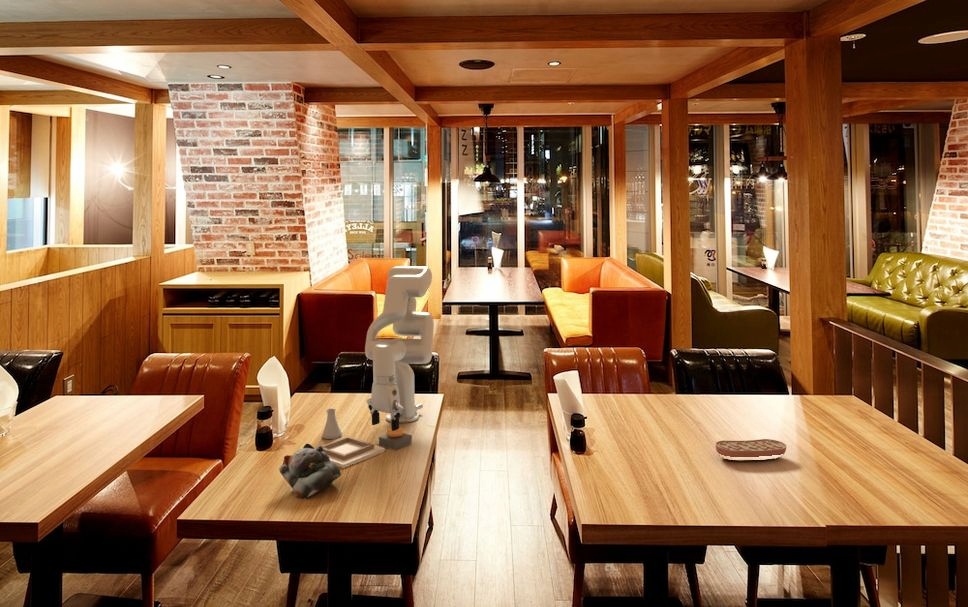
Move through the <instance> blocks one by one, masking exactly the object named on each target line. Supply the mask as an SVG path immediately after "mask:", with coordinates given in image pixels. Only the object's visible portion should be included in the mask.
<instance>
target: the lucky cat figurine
mask: <svg viewBox="0 0 968 607" xmlns="http://www.w3.org/2000/svg"><path fill="white" fill-rule="evenodd" d="M322 446H323V445H320V444H319V445H318V446H316V447H314V446H313V445H311V444H310V443H305V444H304V446H303V447H302V448H299V449H298V450H297V451H296V452H294V453H293V454H292V455H288V454H287V455H284V456H283V462H282V464H281V466H280V467H279V468H278V469H279V472H280V474H281V476H282V477H283V479H284V480H285V481H286V482H287V483H288V485H289V486H290V487H291V489H292V490H293V492H294V495H295V496H296V497H297V498H298V499H304V498H306V499H308V498H309V497H311V496H313V495H315V494H316V493H317V492H319V491H320V490H322V489H324V488H326V487H327V486H329V485H331V484H332V483H333V482H335V481H336V480H337V479H339V478H340V477H341V476H342V472H341V469H340V467H338V466H337V465H336V464H334V463H332V462H330V459H329V456H328V455H327V454H326V453H325V452H324V450H323V447H322Z"/></svg>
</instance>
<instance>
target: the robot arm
mask: <svg viewBox="0 0 968 607" xmlns="http://www.w3.org/2000/svg"><path fill="white" fill-rule="evenodd" d="M432 279H433V273H432V270H431V269H430V267H428V266H424V265H423V266H420V265H419V266H411V265H409V266H408V265H399V266H393V267H391V268H389V269H388V271H387V282H386V288H385V293H384V294H385V295H384V302H383V310H382V312H381V313H380V314H379V315H378V316H377V317H376V318H375V319H374V320H373V321H372V322H371V323H370V325H369V327H368V330H367V332H366V339H365V346H364V353H365V357H367V359H369V360H370V361H371V360H372V372H373V373H372V374H373V375H372V376H373V379H372V380H373V382H372V386H371V396H370V398H368V399H366V403H367V405H368V406H367V407H368V409H369V411H370V413H369V414H370V415H371V425H372V426H376V425H379V424H380V422H381V421H380V420H381V419H380V418H381V417H380V412H382V413H385V414H386V417H385V418H386V420H387V421H388V422H390V424H391V425H390V427H391V430H392V431H394V430H397V429H399V427H400V424H404V423H412V422H414V421H417V420H419V418H420V416H419V415H420V414H419V413H418V410H420V409H423V407H424V406H423V404H422V403H417V404H415V402H416V401H415V400H416V399H415V373H414V370H413V369H412V367H411V366H410V364H413V365H414V364H415V365H417V364H418V365H419V364H421V365H423V364H428V363H430V361H431V360H432V356H433V345H434V344H433V343H434V332H435V331H434V329H435V327H434V326H435V320H434V318H433V315H432V314H431V313H429V312H426V311H417V298H423V297H424V296H425V295H426V293H427V292H428V290H429V288H430V286H431V284H432V282H433V280H432ZM390 325H392V330H393V333H394V334H395V335H397V336H401V337H420V338H401V337H400V338H394V339H393V338H392V339H390V338H389V339H387V338H377V337H378V334H379V333H380V332H381V331H382V330H383V329H384V328H386V327H388V326H390Z"/></svg>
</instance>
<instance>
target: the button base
mask: <svg viewBox="0 0 968 607" xmlns="http://www.w3.org/2000/svg"><path fill="white" fill-rule="evenodd" d="M412 438H413V436H412V434H410V433H409V434H408V433H405V432H404V434H403V435H402V436H399V437H396V438H394V437H390V436H387V434H386V433H385V434H382V435H380V436H378V446H380V445H381V446H380V447H383V446H384V447H383V448H387V449H390V448H391V449H390V450H393V449H394V450H393V451H397V450H399V448H400V449H402V448H404V447H406V446H409V445H412V442H413V439H412Z"/></svg>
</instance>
